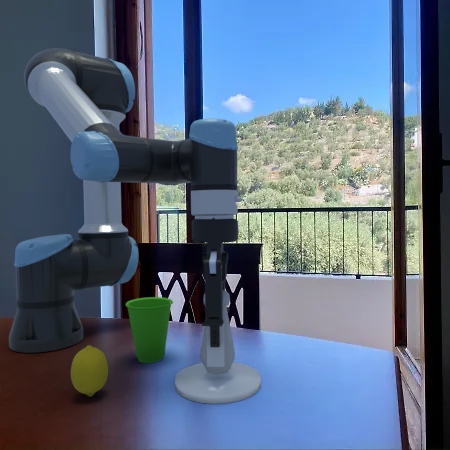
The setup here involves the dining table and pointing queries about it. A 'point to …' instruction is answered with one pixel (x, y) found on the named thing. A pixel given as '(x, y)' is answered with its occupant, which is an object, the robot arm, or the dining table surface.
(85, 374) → the lemon
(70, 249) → the robot arm
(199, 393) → the ceramic plate
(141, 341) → the cup
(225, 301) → the salt shaker
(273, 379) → the dining table surface
